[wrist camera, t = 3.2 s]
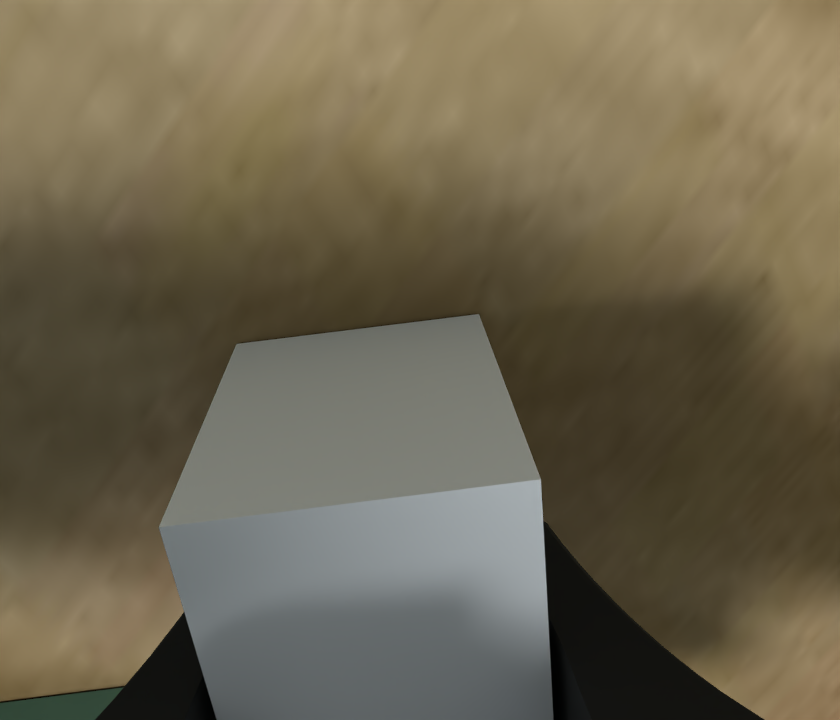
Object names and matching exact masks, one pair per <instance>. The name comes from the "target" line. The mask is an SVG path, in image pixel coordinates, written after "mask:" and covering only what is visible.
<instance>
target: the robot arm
mask: <svg viewBox="0 0 840 720" xmlns="http://www.w3.org/2000/svg"><path fill="white" fill-rule="evenodd" d="M543 529H544V548H545V567H546V586H547V605H548V624H549V643H550V663H551V682H552V701H553V720H764V719H763V718H761V717H759V716H758V715H756V714H755V713H753V712H752V711H750V710H749V709H747V708H746V707H744V706H742V705H741V704H739V703H738V702H736V701H735V700H733V699H732V698H730V697H729V696H727V695H725V694H724V693H723V692H721V691H720V690H718V689H717V688H716V687H714V686H713V685H712V684H710V683H709V682H707V681H706V680H705V679H703V678H702V677H701V676H699V675H698V674H697V673H695V672H694V671H693V670H691V669H690V668H689V667H688V666H686V665H685V664H684V663H683V662H681V661H680V660H679V659H677V658H676V657H675V656H674V655H673V654H671V653H670V652H669V651H668V650H667V649H665V648H664V647H663V646H662V645H661V644H659V643H658V642H657V641H656V640H655V639H654V638H653V637H651V636H650V635H649V634H648V633H647V632H646V631H645V630H644V629H643V628H642V627H641V626H639V625H638V624H637V623H636V622H635V621H634V620H633V619H632V618H631V617H630V616H629V615H628V614H627V613H626V612H625V611H624V610H622V609H621V608H620V607H619V606H618V605H617V604H616V603H615V602H614V601H613V600H612V598H611V597H610V596H609V595H608V594H607V593H606V592H605V591H604V590H603V589H602V588H601V587H600V586H599V585H598V584H597V583H596V582H595V581H594V580H593V579H592V578H591V576H590V575H589V574H588V573H587V572H586V571H585V570H584V569H583V568H582V566H581V565H580V564H579V563H578V562H577V561H576V559H575V558H574V557H573V556H572V555H571V554H570V552H569V551H568V550H567V549H566V547H565V546H564V545H563V544H562V543H561V541H560V540H559V539H558V537H557V536H556V535H555V533H554V532H553V531H552V529H551V528H550V527H549V525H548V524H547V523H546V522H544V521H543ZM95 720H217V719H216V716H215V713H214V709H213V706H212V703H211V699H210V696H209V693H208V689H207V686H206V683H205V679H204V676H203V673H202V669H201V666H200V663H199V659H198V656H197V653H196V649H195V646H194V643H193V639H192V636H191V633H190V629H189V626H188V623H187V619H186V616H185V613H183V614H182V616H181V617H180V618H179V620H178V621H177V622H176V623H175V625H174V626H173V627H172V629H171V630H170V631H169V633H168V634H167V635H166V636H165V638H164V639H163V640H162V642H161V643H160V644H159V645H158V647H157V648H156V649H155V651H154V652H153V653H152V654H151V656H150V657H149V658H148V659H147V661H146V662H145V663H144V664H143V665H142V667H141V668H140V669H139V670H138V671H137V672H136V674H135V675H134V676H133V677H132V678H131V679H130V681H129V682H128V683H127V684H126V685H125V686H124V688H123V689H122V690H121V691H120V692H119V693H118V695H117V696H116V697H115V698H114V699H113V700H112V702H111V703H110V704H109V705H108V706H107V707H106V708H105V709H104V710H103V711H102V712H101V714H100V715H99V716H98V717H97V718H96V719H95Z"/></svg>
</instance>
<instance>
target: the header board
mask: <svg viewBox="0 0 840 720" xmlns="http://www.w3.org/2000/svg"><path fill="white" fill-rule="evenodd" d="M123 688H124V687H123ZM123 688H115V689H107V690H99V691H92V692H84V693H76V694H68V695H60V696H52V697H45V698H37V699H29V700H21V701H13V702H5V703H0V720H95V719H96V718H97V717H98V716H99V715H100V714H101V712H102V711H103V710H104V709H105V708H106V707H107V706H108V705H109V704H110V703H111V702H112V700H113V699H114V698H115V697H116V696H117V695H118V693H119V692H120V691H121V690H122V689H123Z"/></svg>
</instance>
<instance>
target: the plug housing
mask: <svg viewBox="0 0 840 720" xmlns="http://www.w3.org/2000/svg"><path fill="white" fill-rule="evenodd" d="M159 530H160V533H161V536H162V540H163V543H164V546H165V550H166V553H167V556H168V559H169V563H170V566H171V569H172V573H173V576H174V579H175V583H176V586H177V589H178V593H179V596H180V599H181V603H182V606H183V609H184V613H185V616H186V619H187V623H188V626H189V629H190V633H191V636H192V639H193V643H194V646H195V649H196V653H197V656H198V659H199V663H200V666H201V669H202V673H203V676H204V679H205V683H206V686H207V689H208V693H209V696H210V699H211V703H212V706H213V709H214V713H215V716H216V719H217V720H553V701H552V682H551V663H550V643H549V624H548V605H547V586H546V567H545V548H544V529H543V510H542V490H541V478H540V476H539V473H538V470H537V468H536V465H535V462H534V460H533V457H532V454H531V452H530V449H529V446H528V444H527V441H526V438H525V436H524V433H523V430H522V428H521V425H520V422H519V420H518V417H517V414H516V412H515V409H514V406H513V404H512V401H511V398H510V396H509V393H508V390H507V388H506V385H505V382H504V380H503V377H502V374H501V372H500V369H499V366H498V364H497V361H496V358H495V356H494V353H493V350H492V348H491V345H490V342H489V340H488V337H487V334H486V332H485V329H484V326H483V324H482V321H481V318H480V316H479V314H476V315H468V316H459V317H451V318H443V319H435V320H427V321H419V322H411V323H403V324H394V325H386V326H378V327H370V328H362V329H354V330H346V331H338V332H329V333H321V334H313V335H305V336H297V337H289V338H281V339H273V340H264V341H256V342H248V343H240V344H236V346H235V349H234V351H233V353H232V356H231V358H230V360H229V363H228V365H227V368H226V370H225V372H224V375H223V377H222V379H221V382H220V384H219V386H218V389H217V391H216V394H215V396H214V398H213V401H212V403H211V405H210V408H209V410H208V412H207V415H206V417H205V419H204V422H203V424H202V427H201V429H200V431H199V434H198V436H197V438H196V441H195V443H194V445H193V448H192V450H191V453H190V455H189V457H188V460H187V462H186V464H185V467H184V469H183V471H182V474H181V476H180V478H179V481H178V483H177V486H176V488H175V490H174V493H173V495H172V497H171V500H170V502H169V504H168V507H167V509H166V512H165V514H164V516H163V519H162V521H161V523H160V526H159Z"/></svg>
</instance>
